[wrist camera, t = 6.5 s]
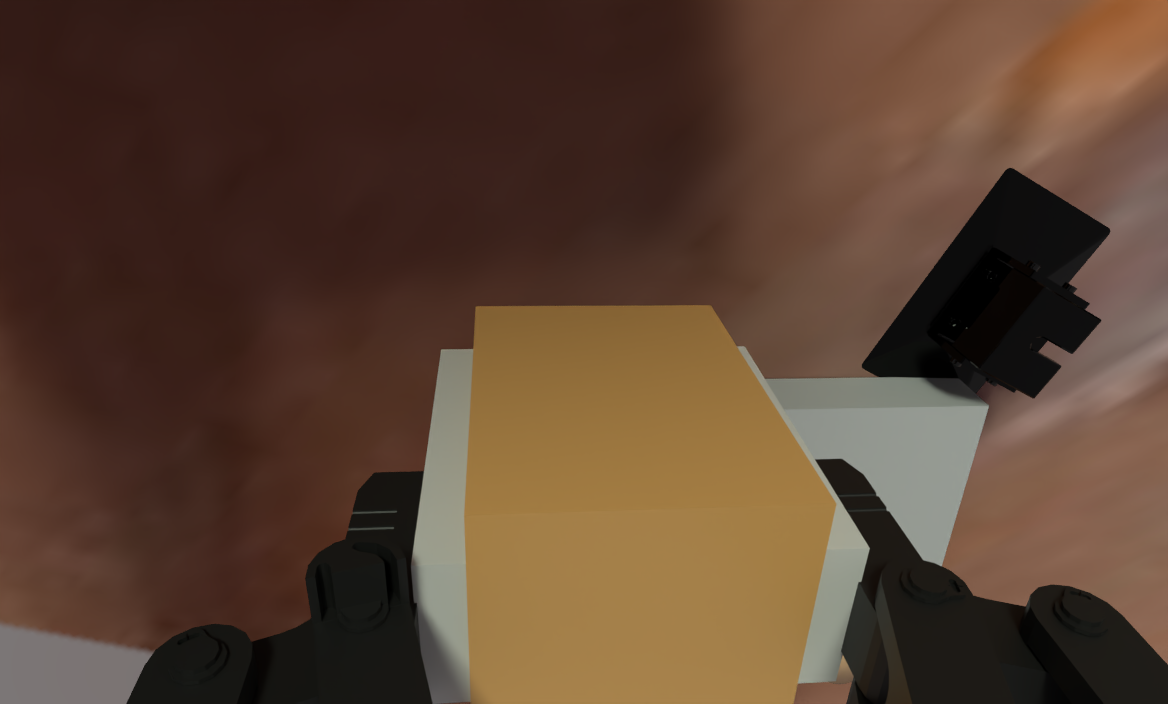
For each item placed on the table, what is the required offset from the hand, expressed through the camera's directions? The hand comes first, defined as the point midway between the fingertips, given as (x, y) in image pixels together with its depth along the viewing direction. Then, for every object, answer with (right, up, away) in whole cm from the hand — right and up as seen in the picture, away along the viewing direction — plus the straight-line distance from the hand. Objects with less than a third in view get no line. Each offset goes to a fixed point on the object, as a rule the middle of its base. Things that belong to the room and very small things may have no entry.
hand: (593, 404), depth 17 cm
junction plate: (+6, -6, +18) cm, 20 cm away
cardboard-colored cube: (0, 0, 0) cm, 0 cm away
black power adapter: (+16, +3, +15) cm, 22 cm away
